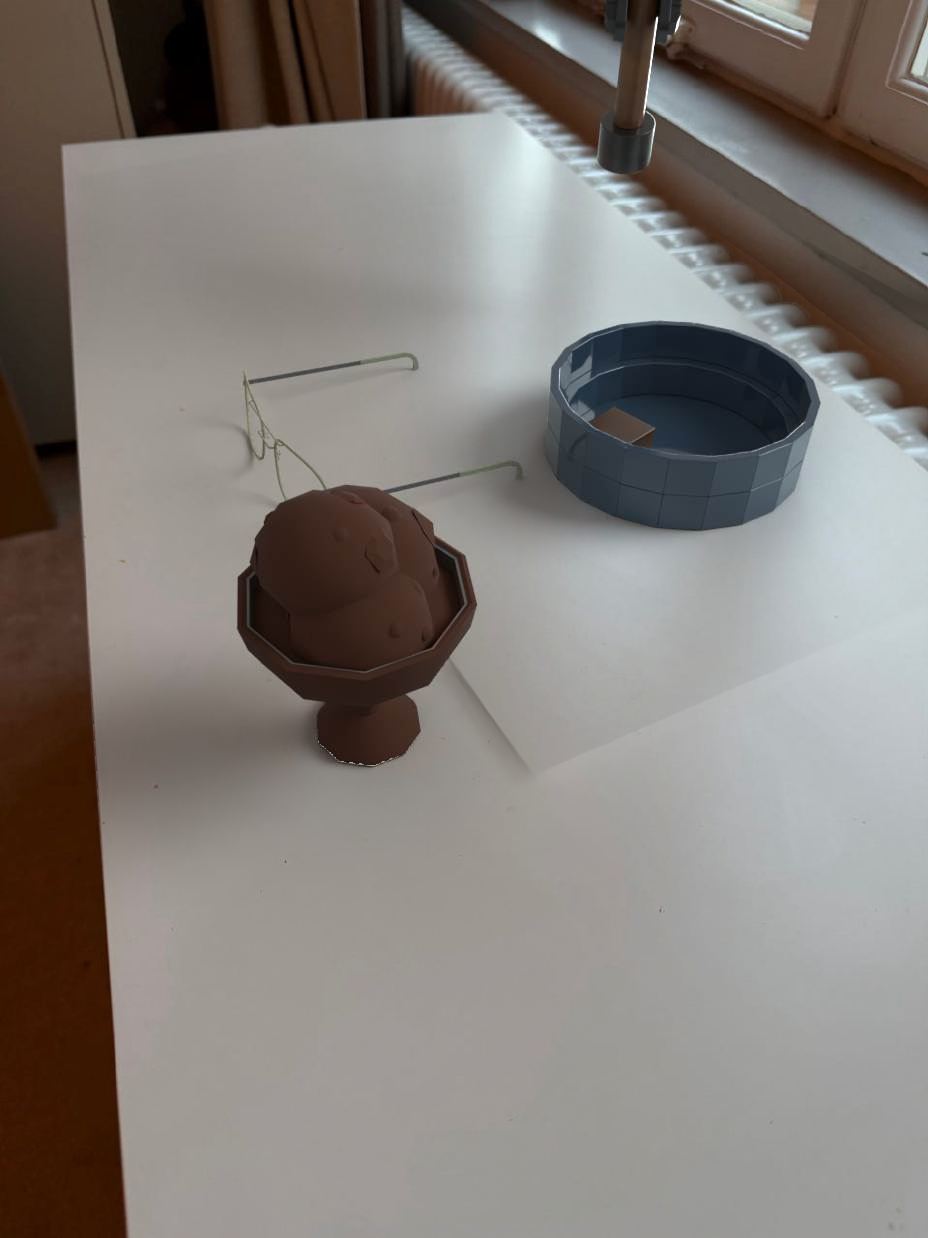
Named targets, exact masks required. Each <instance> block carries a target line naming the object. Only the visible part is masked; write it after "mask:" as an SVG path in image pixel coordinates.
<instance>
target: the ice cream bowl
mask: <svg viewBox="0 0 928 1238" xmlns="http://www.w3.org/2000/svg"><path fill="white" fill-rule="evenodd" d="M466 556H467V555H466V554H464V553H463V552H462V551H460V550H458V549H457V548H455V547H454V546H452V545H450V544H449V543H447V542H446V541H445V540H443V539H442V538H440V537H439V536H436V535H435V529H434V522H433V521H431V520H430V519H429V518H428V517H426V516H425V515H424V514H423V513H421V512H420V511H419V510H418V509H416V508H415V507H414V506H413V507H411V506H410V505H409V504H407V503H405V502H403V500H401V499H398V498H397V497H395V496H393V495H392V494H391V493H389V494H388V493H387V492H385V491H382V489H380V488H378V487H375V486H374V487H373V486H364V485H355V484H346V483H345V484H342V485H339V486H334V487H330V488H327V489H326V490H324V489H311V490H308V491H306V492H304V493H301V494H299V495H296V496H294V497H291V498H289V499H288V500H286V501H285V500H283V501H282V502H279V503H278V504H277V506H276V507H275V509H274V510H271V511H269V512H268V513H267V514H265V517H264V519H263V525H262V526H261V528H260V529H259V531H258V532H257V534H256V535H255V537H254V545H253V548H252V552H251V556H250V559H249V565H248V566H247V567H246V568H245V569H244V570H243V571H242V572H241V573H240V574H239V575H238V576H237V581H236V582H237V589H236V591H237V593H236V594H237V595H236V597H237V598H236V602H237V603H236V609H237V610H236V630H237V632H238V634H239V637H240V638H241V639H242V641H243V643H244V645H245V648H246V649H247V651H248V652H249V653H250V654H251V655H252V656H253V657H254V658H256V660H258V661H259V662H260V664H262V665H263V666H264V667H265V668H266V669H267V670H268V671H270V672H271V673H272V674H273V675H274V676H276V677H277V678H278V679H279V680H280V681H282V682H283V683H284V684H285V685H286V686H287V687H288V688H289V689H291V690H292V691H293V692H294V693H295V694H296V695H298V696H299V697H300V698H301V699H302V700H306V701H311V702H312V701H313V702H319V703H320V702H321V703H323V705H322V706H321V707H320V708H319V709H318V711H317V714H316V717H317V718H316V717H315V720H316V719H317V724H316V734H317V733H318V739H317V742H318V741H319V744H321V745H322V746H324V748H326V750H328V751H329V752H331V754H333V756H334V757H336V759H338V760H339V761H344V762H346V763H349V762H353V763H355V764H359V763H362V764H364V765H376V764H379V763H381V762H382V761H387V760H389V759H390V758H395V757H397V756H400V757H402V755H403V754H405V755H406V753H407V752H408V750H409V749H410V748H409V746H410V747H412V745H411V744H413V743H414V742H415V741H416V739H417V738H418V736H419V735H420V733H421V731H422V729H421V725H420V724H421V723H420V718H419V712H418V706H417V704H416V703H415V701H414V699H413V698H411V697H410V696H408V694H410V693H412V692H415V691H417V690H421V689H423V688H426V687H428V686H430V685H431V683H432V682H433V681H434V679H435V678H436V676H437V675H438V673H439V672H440V671H441V670H442V668H443V667H444V665H445V664H446V663H447V662H448V660H449V659H450V657H451V656H452V654H453V653H454V651H455V650H456V649H457V647H458V646H459V644H460V643H461V641H462V640H463V639H464V638H465V636H466V635H467V633H468V631H469V630H470V628H471V627H472V624H473V620H474V617H475V613H476V611H477V607H478V602H477V599H476V598H477V597H476V594H475V590H474V589H475V588H474V585H473V582H472V577H471V573H470V569H469V565H468V561H467V557H466ZM317 730H318V731H317ZM416 737H417V738H416ZM413 741H414V742H413ZM319 744H318V745H319ZM324 748H323V749H324ZM408 748H409V749H408ZM326 750H325V751H326ZM406 751H407V752H406ZM333 756H332V757H333ZM403 756H404V755H403ZM334 757H333V758H334ZM336 759H335V760H336ZM395 759H396V758H395ZM387 762H388V761H387ZM346 763H345V764H346Z"/></svg>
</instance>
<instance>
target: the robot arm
mask: <svg viewBox="0 0 928 1238" xmlns="http://www.w3.org/2000/svg"><path fill="white" fill-rule="evenodd" d="M627 4H628V0H605V8H604V9H605V11H604V22H603V26H604V30H605V32H606V33H613V38H612V42H614V43H622V42H623V40H624V33H625V25H626V15H627ZM682 6H683V0H660V3H659V10H658V18H657V26H656V34H655V41H654V45H655V44H658V45H666V44H667V40H668V37H669V36H675V35H676V33H677V30H678V29H679V24H680V20H681V16H682Z"/></svg>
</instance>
